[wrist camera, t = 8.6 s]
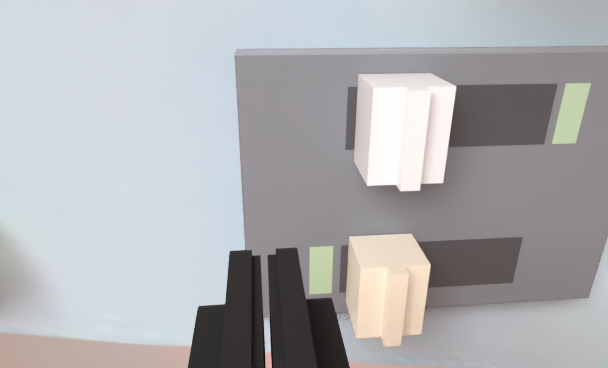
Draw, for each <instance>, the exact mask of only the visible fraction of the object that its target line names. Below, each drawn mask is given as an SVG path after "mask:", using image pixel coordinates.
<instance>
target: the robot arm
mask: <svg viewBox="0 0 608 368" xmlns="http://www.w3.org/2000/svg"><path fill="white" fill-rule="evenodd" d="M267 257H268V283H269V309H270V334H271V357H272V368H350V367H349V363H348V359H347V355H346V351H345V347H344V343H343V339H342V335H341V331H340V328H339V324H338V320H337V316H336V312H335V308H334V304H333V300H332V298H331V297H330V298H315V299H306V297H305V291H304V285H303V279H302V273H301V267H300V261H299V256H298V250H297V247H295V248H277V249H276V254H272V255H267ZM188 368H265V342H264V320H263V298H262V277H261V256H260V255H255V256H252V250H241V251H230V255H229V267H228V279H227V291H226V303H225V304H224V305H209V306H199V307H198V311H197V316H196V322H195V328H194V334H193V340H192V346H191V352H190V358H189V364H188Z"/></svg>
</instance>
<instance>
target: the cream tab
mask: <svg viewBox="0 0 608 368" xmlns="http://www.w3.org/2000/svg"><path fill="white" fill-rule="evenodd" d="M430 267H431V264H430V263H429V261H428V259H427V258H426V256H425V254H424V253H423V251H422V250H421V248H420V246H419V245H418V243H417V242H416V240H415V238H414V237H413V235H412V234H390V235H368V236H349V247H348V267H347V287H346V304H347V308H348V311H349V315H350V318H351V322H352V326H353V329H354V333H355V336H356V339H359V338H374V337H381V339H382V342H383V345H384V347H388V346H401V340H402V336H405V335H420V334H421V333H422V325H423V318H424V311H425V304H426V296H427V289H428V282H429V274H430Z"/></svg>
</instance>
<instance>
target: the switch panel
mask: <svg viewBox="0 0 608 368" xmlns="http://www.w3.org/2000/svg"><path fill="white" fill-rule="evenodd" d="M235 70H236V88H237V107H238V125H239V143H240V161H241V179H242V197H243V215H244V233H245V250H252V256H255V255H260V256H261V277H262V298H263V317H270V309H269V283H268V257H267V255H272V254H276V249H277V248H295V247H297V250H298V256H299V261H300V267H301V273H302V279H303V285H304V291H305V297H306V299H315V298H330V297H331V298H332V300H333V304H334V308H335V312H336V313H345V312H349V311H348V308H347V304H346V287H347V267H348V247H349V236H368V235H390V234H412V235H413V237H414V238H415V240H416V242H417V243H418V245H419V246H420V248H421V250H422V251H423V253H424V254H425V256H426V258H427V259H428V261H429V263H430V264H431V267H430V274H429V282H428V289H427V296H426V304H425V308H428V307H445V306H462V305H478V304H495V303H512V302H529V301H545V300H562V299H579V298H588V297H589V294H590V291H591V288H592V284H593V281H594V278H595V275H596V272H597V268H598V265H599V262H600V259H601V256H602V252H603V249H604V246H605V243H606V240H607V236H608V46H569V47H447V48H326V49H237V50H236V53H235ZM396 73H432V74H434V75H436V76H437V77H439V78H441V79H443V80H445V81H447V82H449V83H451V84H453V85H455V86H456V93H455V101H454V108H453V115H452V122H451V129H450V137H449V144H448V151H447V158H446V166H445V173H444V180H443V183H433V184H421V185H420V191H400V190H399V189H398V187H397V186H396V185H376V186H367V185H366V183H365V181H364V179H363V177H362V176H361V174H360V172H359V170H358V168H357V166H356V165H355V163H354V147H355V127H356V108H357V89H358V74H396Z"/></svg>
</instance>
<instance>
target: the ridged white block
mask: <svg viewBox="0 0 608 368" xmlns="http://www.w3.org/2000/svg"><path fill="white" fill-rule="evenodd" d="M455 93H456V86H455V85H453V84H451V83H449V82H447V81H445V80H443V79H441V78H439V77H437V76H436V75H434V74H432V73H396V74H358V89H357V108H356V127H355V147H354V163H355V165H356V166H357V168H358V170H359V172H360V174H361V176H362V177H363V179H364V181H365V183H366V185H367V186H376V185H396V186H397V187H398V189H399V190H400V191H420V185H421V184H433V183H443V180H444V173H445V166H446V158H447V151H448V144H449V137H450V129H451V122H452V115H453V108H454V101H455Z"/></svg>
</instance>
